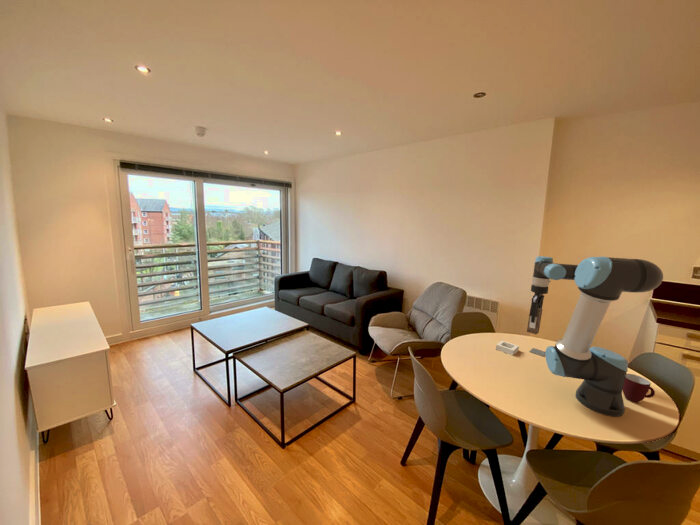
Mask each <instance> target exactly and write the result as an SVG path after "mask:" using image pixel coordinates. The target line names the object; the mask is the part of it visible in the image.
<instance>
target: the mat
mask: <svg viewBox="0 0 700 525" xmlns="http://www.w3.org/2000/svg"><path fill="white" fill-rule="evenodd" d="M528 352H529V353H531V354H534V355H538V356H540V357H546V355H545V353H546V351H543V350H540V349H538V348H535V347H532V348H531V349H530V350H529V351H528Z"/></svg>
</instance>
